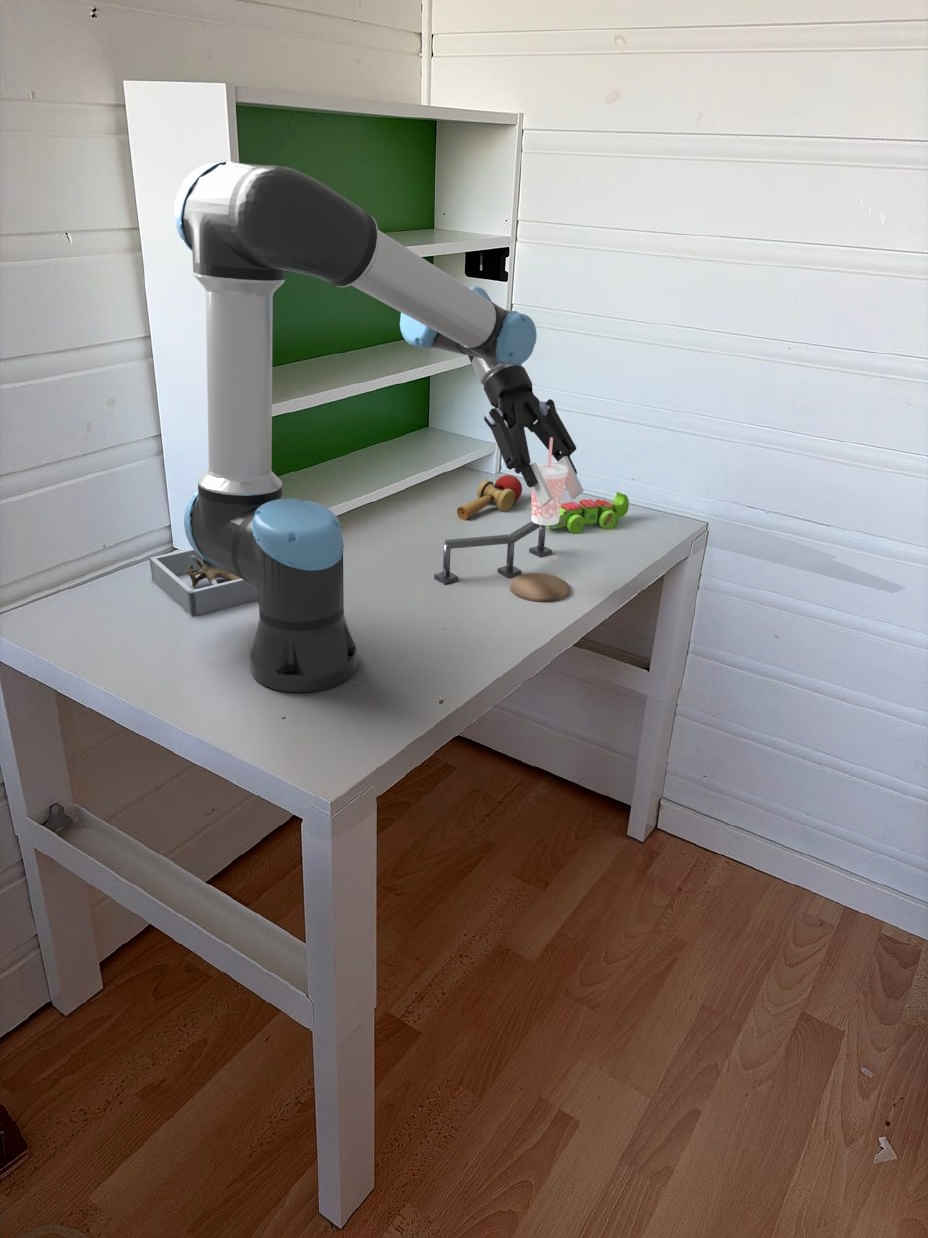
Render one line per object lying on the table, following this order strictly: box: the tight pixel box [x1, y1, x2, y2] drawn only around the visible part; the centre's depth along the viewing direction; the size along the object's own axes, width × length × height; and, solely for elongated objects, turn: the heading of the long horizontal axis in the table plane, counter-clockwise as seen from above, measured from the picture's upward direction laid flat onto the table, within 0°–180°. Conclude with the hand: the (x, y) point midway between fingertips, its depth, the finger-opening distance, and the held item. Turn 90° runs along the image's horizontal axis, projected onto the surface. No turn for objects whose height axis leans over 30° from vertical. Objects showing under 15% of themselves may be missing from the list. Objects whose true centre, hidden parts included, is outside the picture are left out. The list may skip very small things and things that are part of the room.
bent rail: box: [433, 521, 553, 585], centre depth 167 cm, size 25×7×7 cm, turn 128°
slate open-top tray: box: [149, 547, 258, 617], centre depth 156 cm, size 14×17×4 cm
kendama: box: [456, 474, 523, 521], centre depth 195 cm, size 8×6×18 cm
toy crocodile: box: [546, 491, 630, 534], centre depth 188 cm, size 20×7×6 cm, turn 113°
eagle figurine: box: [186, 556, 240, 588], centre depth 157 cm, size 8×7×9 cm
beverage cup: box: [530, 437, 568, 527], centre depth 153 cm, size 6×6×14 cm
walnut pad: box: [509, 572, 570, 603], centre depth 161 cm, size 10×10×1 cm
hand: (562, 498), depth 151 cm, fingers closed on beverage cup, 6 cm apart
